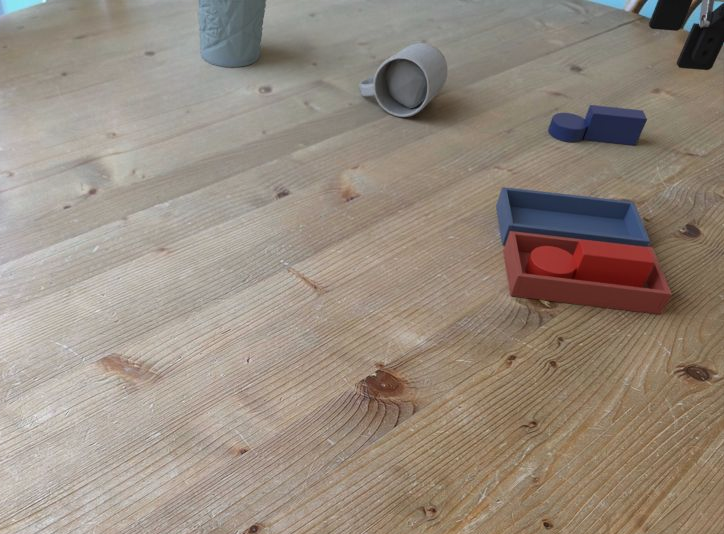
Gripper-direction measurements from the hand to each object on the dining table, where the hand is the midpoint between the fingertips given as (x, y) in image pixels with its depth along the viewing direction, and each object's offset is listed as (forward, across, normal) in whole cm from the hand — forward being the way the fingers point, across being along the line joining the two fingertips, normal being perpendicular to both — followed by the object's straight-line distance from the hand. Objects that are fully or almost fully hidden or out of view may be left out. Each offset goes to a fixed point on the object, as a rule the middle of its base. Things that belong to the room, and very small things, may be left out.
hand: (677, 47), depth 75 cm
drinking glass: (+16, +27, +49) cm, 58 cm away
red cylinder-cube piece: (+16, -19, +8) cm, 26 cm away
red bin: (+16, -19, +8) cm, 26 cm away
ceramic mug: (+16, +16, +25) cm, 34 cm away
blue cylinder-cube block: (+16, +12, 0) cm, 20 cm away
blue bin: (+16, -11, +8) cm, 21 cm away
